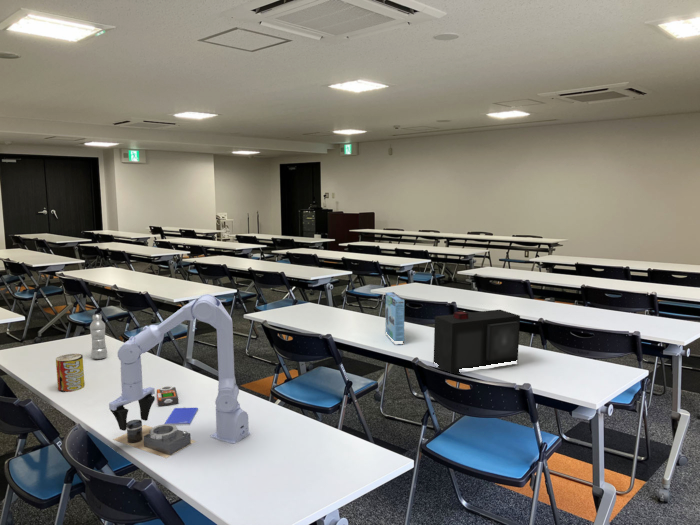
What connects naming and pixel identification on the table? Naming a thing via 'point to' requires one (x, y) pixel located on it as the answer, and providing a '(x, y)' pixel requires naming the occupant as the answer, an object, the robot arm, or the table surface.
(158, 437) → the block with segmented ring
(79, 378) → the tin can
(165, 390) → the electronic device
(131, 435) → the lens
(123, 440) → the cork mat
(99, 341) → the plastic bottle
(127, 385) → the robot arm
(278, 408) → the table surface
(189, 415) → the hard drive
